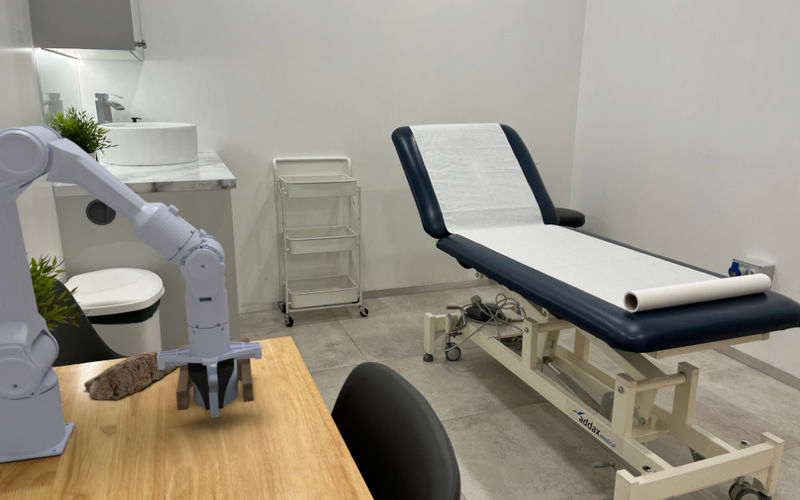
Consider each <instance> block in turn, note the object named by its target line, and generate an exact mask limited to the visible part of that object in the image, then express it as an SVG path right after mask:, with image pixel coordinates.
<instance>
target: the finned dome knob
mask: <svg viewBox="0 0 800 500" xmlns="http://www.w3.org/2000/svg"><path fill="white" fill-rule="evenodd" d="M207 374H208V385H209V401H210V410H209V411H210V412H209V413H210V419H211V418H212V419H213V418H218V417H220V409H219V405H218V379H217V364H214V365H207ZM192 382H193V381H192ZM192 392H193V401H194V403H195V404H196V405H197V406H201V407H204V408H205V405H204V402H203V399H202V397H201V394H200V392H199V391H198V389H197V387H196V386H195V384H194V383H193V386H192ZM238 396H239V380H238V377H237V361H236V360H234V371H233V374H232V376H231V378H230V380H229V383H228V386H227V389H226V393H225V397H224V406H225V405H229V404H230V403H232V402H234V401H235V400H236V399H238Z"/></svg>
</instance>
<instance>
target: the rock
mask: <svg viewBox="0 0 800 500" xmlns="http://www.w3.org/2000/svg"><path fill="white" fill-rule="evenodd" d="M158 352H159V351H156V350H155V351H144V352H139V353H134V354H132V355H131V356H129V357H127V358H125V359H123V360H121V361H119V362H117V363H115V364H113V365H111V366H109V367H108V368H106V369H104V370H103V371H102V372H101V373H99V374H98V375H96V376H94V377H91V378H90V379H89V380H87V381H85V382H84V385H83V386H84V388H85V389H86V390H87V391H89V396H90V397H91V398H93V399H95V400H99V401H100V400H101V401H102V400H103V401H105V400H107V401H110V400H115V401H118V400H120V399H122V398H123V397H129V396H130V395H132V394H135V393H137V392H139V391H141V390H142V389H144V388H146V387H147V386H149V385H150V384H151V383H152V382H153V381H158V380H160V379H162V378H163V377H164V375H169V374H171V373H172V372H173V370H175V369H176V368H177V367H178V366H171V367H166V369H161V370H158V365H157V355H158Z"/></svg>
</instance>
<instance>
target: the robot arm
mask: <svg viewBox="0 0 800 500" xmlns="http://www.w3.org/2000/svg"><path fill="white" fill-rule="evenodd" d="M45 175H47V177H46V179H45V182H48V183H56V184H57V183H59V184H60V183H61V184H71V185H72V184H73V185H76V186H78V187H79V188H81V189H82V190H84V191H85V192H86V193H88V194H89V195H91V196H93V197H94V198H96V199H97V200H98V201H100V202H101V203H103V204H105V205H106V206H108V208H111V210H113V211H115V212H117V213H118V214H119V215H121V216H122V217H123V218H126V219H127V220H129V221H130V223H131V228H132V229H131V230H132V234H133V236H134V237H135V238H137V239H138V240H140V241H141V242H143V243H144V244H145V245H146V246H147V247H149V248H150V249H152V250H153V251H155V252H156V253H157V254H159V255H160V256H161V257H163V258H164V259H166V260H167V261H168V262H169V263H172V264H174V265H178V266H179V272H180V275H181V276H182V278H183V279H184V280H185V289H186V290H185V293H184V298H185V299H184V300H185V309H186V310H185V311H186V322H187V324H186V325H187V333H188V335H187V336H188V344H189V346H188V347H183V348H179V349H178V348H176V349H175V348H174V349H171V350H165V351H157V352H158V355H157V365H158V370H161V369H166V367H171V366H177V367H178V366H181V365H188V375H189V377H190V379H191V380H192V381H193V383H194V384H195V386H196V387H197V389H198V391H199V392H200V394H201V397H202V399H203V402H204V405H205V407H204V409H205V411H210V401H209V385H208V374H207V365H214V364H217V379H218V405H219V410H222V409H224V408H225V407H224V406H225V405H224V397H225V393H226V389H227V386H228V383H229V380H230V378H231V376H232V374H233V371H234V360H238V359H247V358H250V359H254V360H261V359H263V353H262V342H260V341H257V342H249V343H246V342H230V340H231V336H230V335H231V334H230V320H229V319H230V317H229V306H228V305H229V304H228V303H229V302H228V290H227V288H226V277H225V272H226V270H227V269H226V268H227V265H226V264H225V262H226V256H225V255H226V254H225V250H224V248H223V247H222V245H221V243H220V242H219V241H218V240H217V238H216V237H215V236H212V235H209V234H208V235H207V232H206V231H205V230H204V229H202V228H200V229H199V230H198V229H197V228H196V227H194V226H193V225H192V224H191V223H189V222H188V221H187V220H186V219H184V218H183V217H181V216H180V215H178V213H179V210H180V209H179V208H177V207H176V206H175V205H174V204H170V205H169V206H168V205H166V204H165V203H163V202H148V201H146V200H145V199H143V198H142V197H141V196H139V194H137V193H136V192H134V190H132V189H131V188H130V187H129V186H128V185H127V184H125V183H124V182H122V181H121V179H119V178H117V177H116V176H115V175H114V174H113V173H112V172H111V171H109V170H108V169H107V168H105V166H103V165H102V164H101V163H100V162H99V161H97V160H96V159H95V158H94V157H92V156H91V155H90V154H89V153H87V152H86V151H85V150H84V149H82V148H81V147H80V146H79V145H77V144H76V143H75V142H73V141H72V140H70V139H68V138H66V137H64V138H63V137H62V136H61V135H60V134H59V132H58V131H57V130H55V129H54V128H52V127H50V126H48V125H45V124H39V123H32V124H31V123H30V124H27V125H24V126H21V127H16V126H14V127H7V128H3V129H1V130H0V463H7V462H12V461H21V460H22V461H23V460H28V459H29V460H30V459H36V458H43V457H51V456H57V455H61V454H62V453H63V452H64V450H65V448H66V445H67V443H68V441H69V439H70V437H71V435H72V432H73V430H74V428H75V422H73V421H72V422H71V421H70V422H65V417H64V410H63V404H62V398H61V397H62V396H61V390H60V384H59V383H60V382H59V377H58V374H57V373H56V371H55V370H54V368H53V364H54V362H55V361H56V359H57V358H58V356H59V351H60V350H59V349H60V348H59V344H58V341H57V340H56V338H55V337H54V336H53V335H52V333H51V332H50V330H49V329H48V326H47V322H46V321H47V320H46V318H44V317H43V316H42V315H41V314H40V313H39V311H38V306H37V301H36V294H35V291H34V285H33V280H32V275H31V270H30V265H29V260H28V256H27V255H28V254H27V250H26V246H25V241H24V236H23V231H22V224H21V219H20V215H19V209H18V205H17V199H18V198H19V197H21V195H22V194H23V193H25V191H26V190H27V189H28V188H29V187H30V186H31V185H32V184H33V182H35V181H36V180H37V179H39V178H41V177H43V176H45Z"/></svg>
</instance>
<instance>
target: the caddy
mask: <svg viewBox="0 0 800 500" xmlns="http://www.w3.org/2000/svg"><path fill="white" fill-rule="evenodd" d="M230 342H246V343H250V338H248V337H247V338H246V337H245V338H238V339H237V338H235V339H230ZM188 346H189V343H185V344H178V345H177V349H179V348H183V347H188ZM236 361H237V377H238V381H242V392H243V393H242V394H243V396H242V397H243V402H248V401H254V390H253V389H254V387H253V377H252V376H253V374H252V365H251V358H247V359H238V360H236ZM191 386H192V387H193V382H192V380H191V379H190V377H189V375H188V365H181V366H179V373H178V379H177V385H176V391H175V393H176V403H177V404H176V405H177V410H184V409H188V408H189V403H190V395H191Z"/></svg>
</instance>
